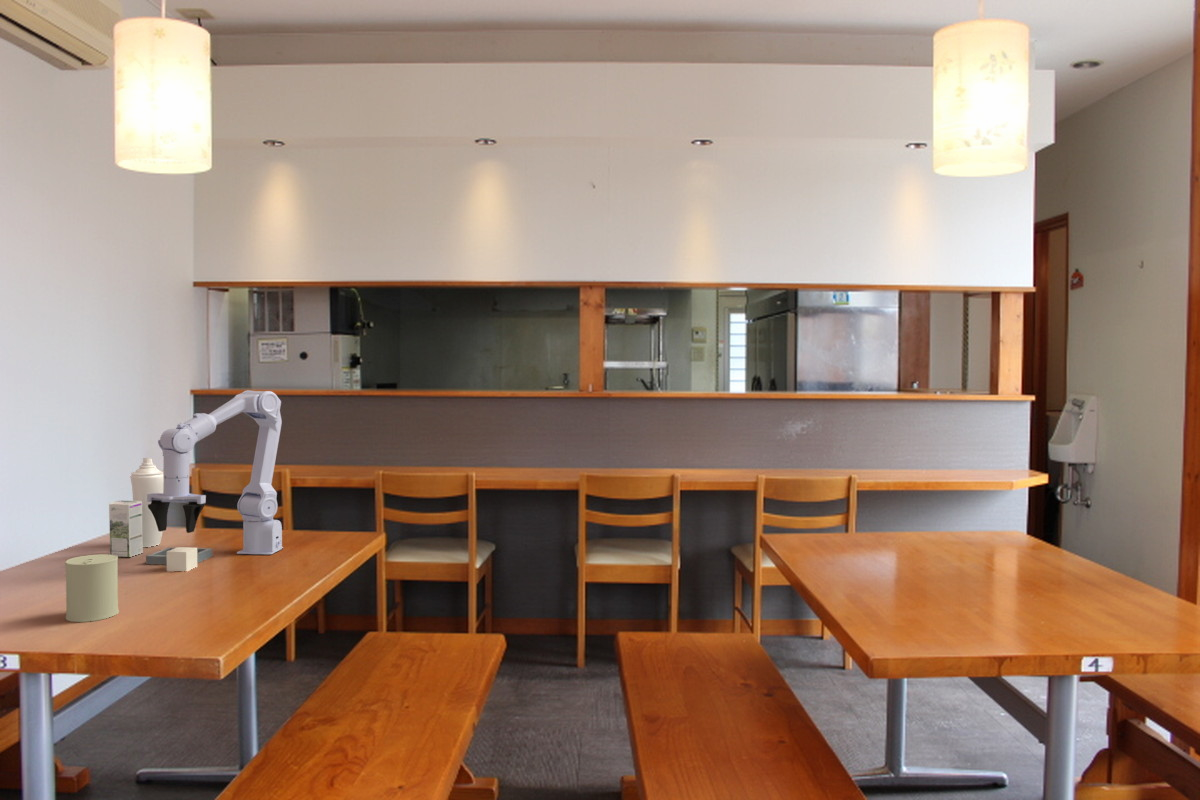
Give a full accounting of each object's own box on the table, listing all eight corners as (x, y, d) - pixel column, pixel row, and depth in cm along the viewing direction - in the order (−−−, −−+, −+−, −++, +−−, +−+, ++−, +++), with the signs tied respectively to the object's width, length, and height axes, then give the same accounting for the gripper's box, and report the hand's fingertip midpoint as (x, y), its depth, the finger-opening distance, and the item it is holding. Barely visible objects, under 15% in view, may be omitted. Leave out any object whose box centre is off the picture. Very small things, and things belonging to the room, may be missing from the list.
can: (61, 624, 161) (60, 563, 160) (70, 611, 169) (69, 553, 169) (115, 619, 165) (114, 559, 164) (121, 606, 173) (121, 550, 173)
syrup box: (143, 553, 222) (143, 500, 221) (129, 558, 216) (128, 503, 215) (123, 552, 222) (123, 499, 222) (108, 557, 217) (108, 503, 216)
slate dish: (212, 556, 219) (212, 548, 219) (191, 565, 209) (191, 557, 209) (168, 555, 220) (168, 547, 220) (146, 564, 210) (146, 555, 210)
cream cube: (197, 567, 208) (197, 547, 208) (186, 572, 203) (186, 552, 203) (178, 566, 208) (178, 547, 208) (166, 571, 203) (166, 551, 203)
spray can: (175, 541, 237) (174, 455, 236) (160, 549, 227) (160, 459, 226) (132, 542, 236) (131, 455, 235) (115, 550, 225) (114, 459, 224)
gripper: (138, 478, 202) (138, 533, 202) (193, 480, 200) (193, 535, 200) (157, 474, 209) (157, 527, 209) (210, 476, 207) (210, 530, 207)
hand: (176, 531), depth 205 cm, fingers open, 7 cm apart
